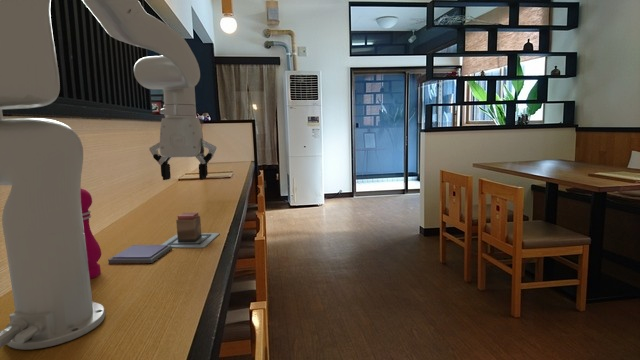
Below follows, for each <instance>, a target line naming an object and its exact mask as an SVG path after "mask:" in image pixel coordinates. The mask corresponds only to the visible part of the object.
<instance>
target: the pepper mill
mask: <svg viewBox="0 0 640 360" xmlns="http://www.w3.org/2000/svg"><path fill="white" fill-rule="evenodd" d="M92 204H93V197H92V195H91V193H90V192H89V191H88V190H86V189H84V188H81V207H82V217H83V225H84V233H85V242H86V251H87V259H88V268H89V277H90V280H91V279H94V278H96V277H98V276H99V275H101V271H102V270H101V264H100V263H98V262H99V261H100V259H101V258H102V249H101V247H100V244H99V242H98V241H97V240H96V238H95V236H94V234H93V233H92V230H91V227H90V218H91V217H92V215H91V210H89V209H90V208H91V206H92Z"/></svg>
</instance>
